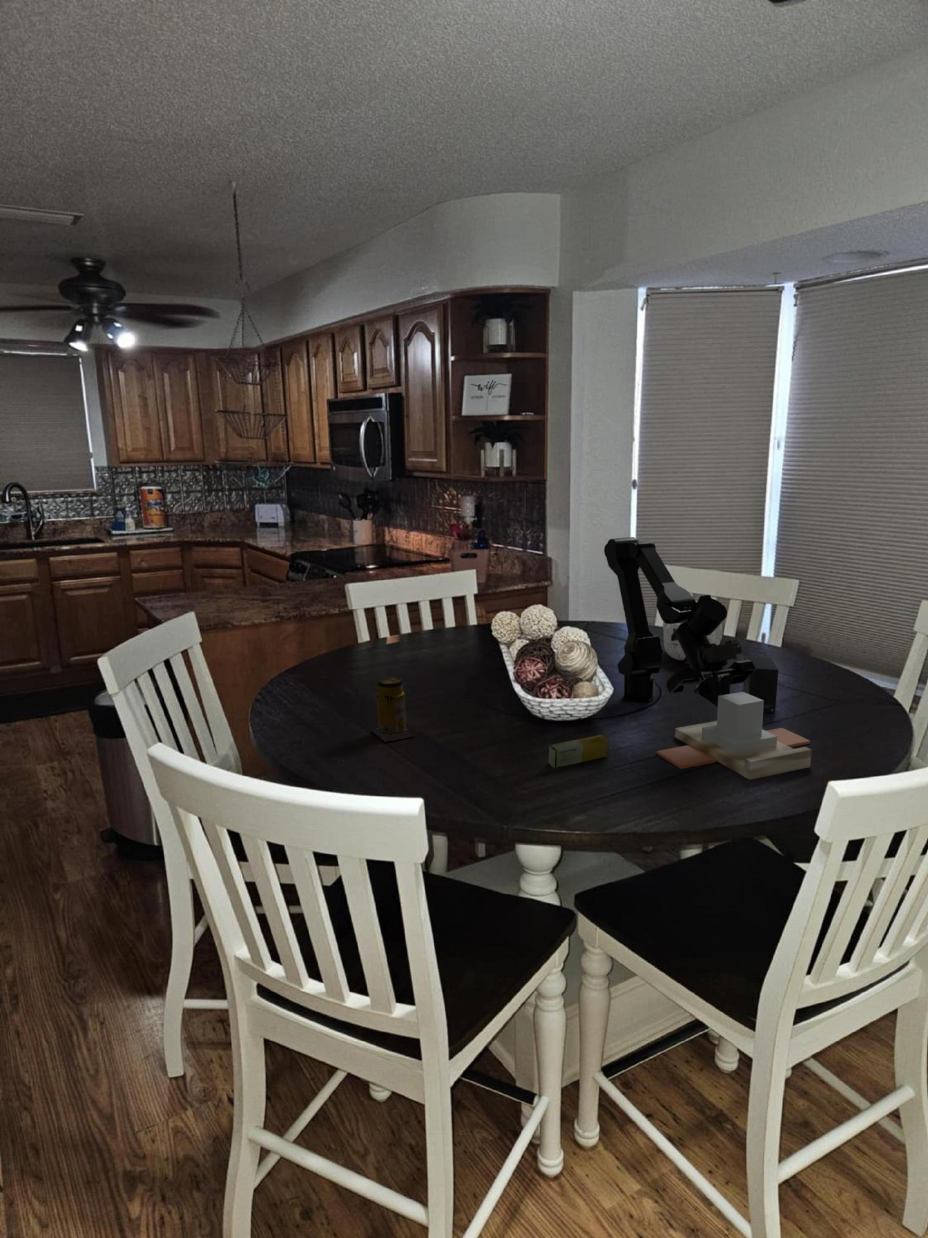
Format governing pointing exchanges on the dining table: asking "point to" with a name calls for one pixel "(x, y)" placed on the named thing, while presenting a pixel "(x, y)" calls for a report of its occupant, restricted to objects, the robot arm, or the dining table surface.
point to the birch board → (748, 754)
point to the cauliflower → (674, 646)
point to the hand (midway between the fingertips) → (728, 713)
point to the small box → (763, 682)
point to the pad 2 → (788, 737)
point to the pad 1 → (686, 756)
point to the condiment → (391, 706)
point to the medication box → (577, 751)
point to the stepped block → (739, 724)
